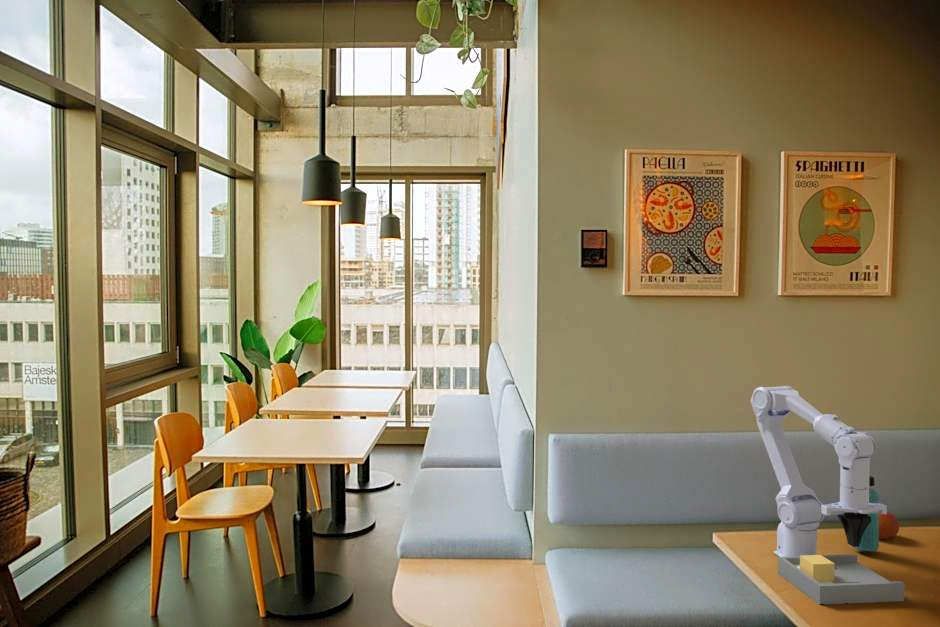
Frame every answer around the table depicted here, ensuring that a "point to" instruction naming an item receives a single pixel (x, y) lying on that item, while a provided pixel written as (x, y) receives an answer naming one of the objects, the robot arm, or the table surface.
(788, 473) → the robot arm
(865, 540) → the beverage bottle
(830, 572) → the block
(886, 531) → the fruit
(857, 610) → the table surface
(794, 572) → the box
